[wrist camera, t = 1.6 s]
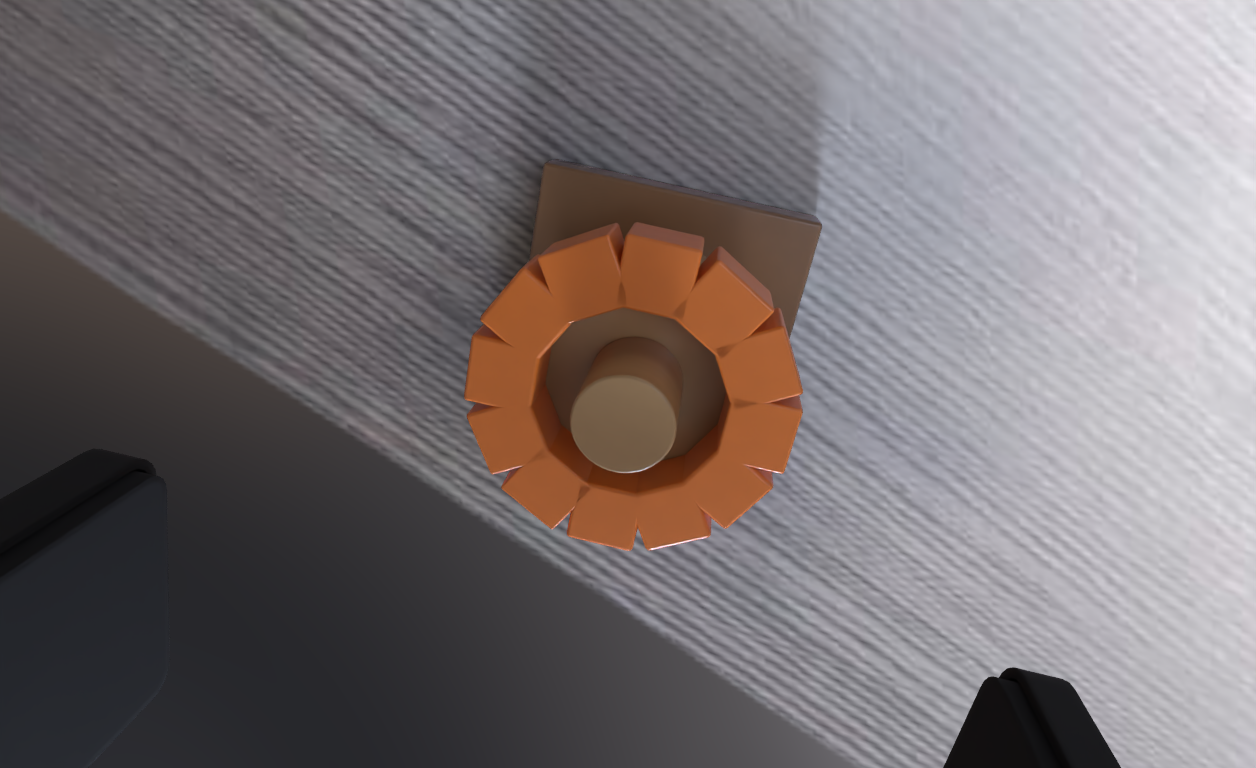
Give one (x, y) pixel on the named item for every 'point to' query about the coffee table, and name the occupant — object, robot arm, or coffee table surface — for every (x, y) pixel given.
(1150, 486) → the coffee table surface
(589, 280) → the ring
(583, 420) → the post
